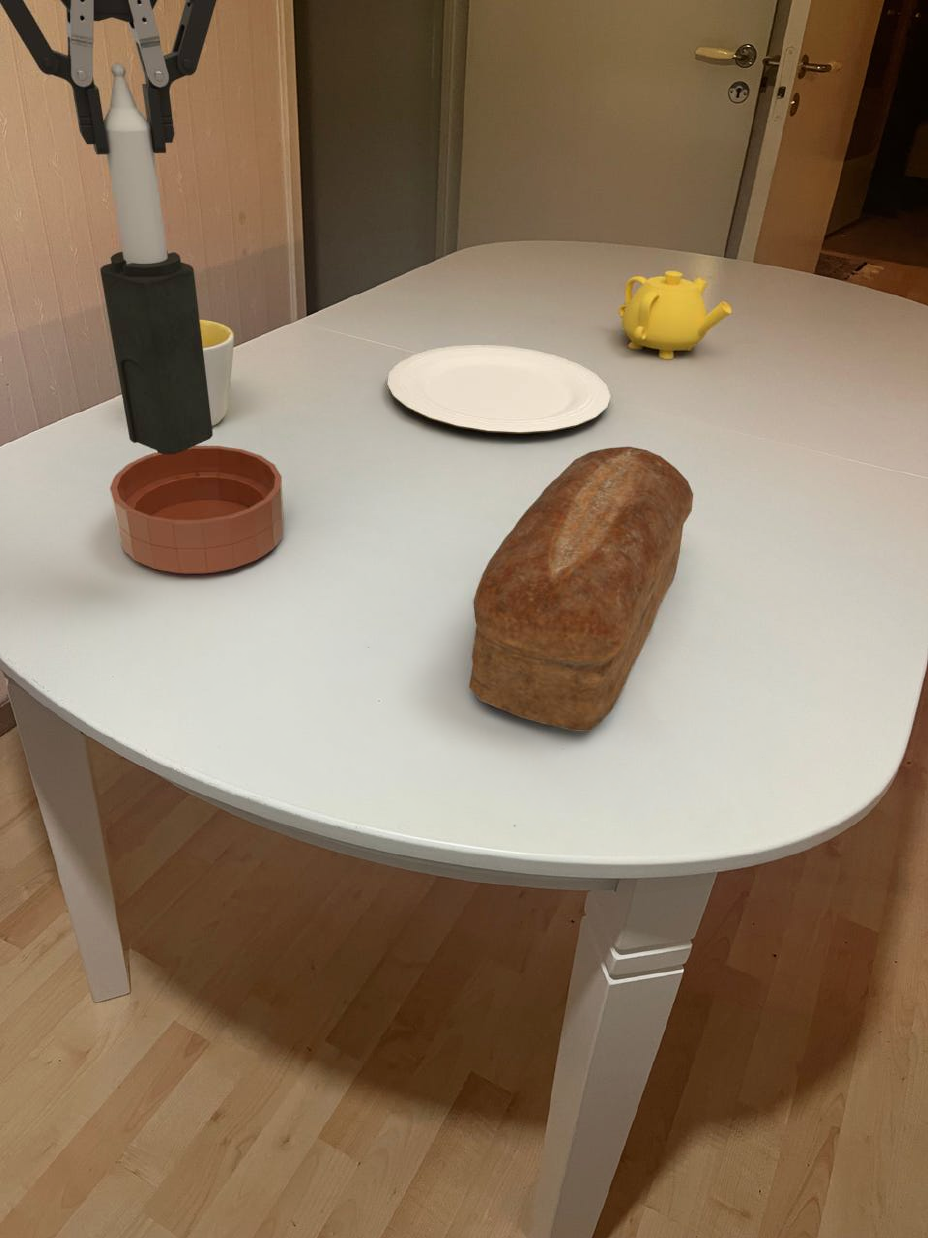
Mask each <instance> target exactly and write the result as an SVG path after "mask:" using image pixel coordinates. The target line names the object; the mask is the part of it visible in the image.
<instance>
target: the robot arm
mask: <svg viewBox="0 0 928 1238" xmlns="http://www.w3.org/2000/svg"><path fill="white" fill-rule="evenodd" d="M59 1H60V2H61V3H62V5H63V6H64V7H65V31H66V54H64V53H62V52H59V51H57V50H54V49H52V47H51V46H50V44H49V42H48V40H47V38H46V37H45V35H44V33H43V32H42V30H41V28H40V26H39V25H38V23H37V21H36V20H35V18H34V16H33V14H32V13H31V11H30V10H29V8H28V5H27V4H26V3H25V1H24V0H0V5H1V8H2V9H3V10H4V12H5V14H6V15H7V17H8V19H9V20H10V22H11V24H12V25H13V27H14V28H15V31H16V33H17V34H18V36H19V37H20V39H21V41H22V42H23V43H24V45H25V47H26V49H27V50H28V52H29V55H31V57H32V59H33V60H34V62H35V64H36V65H37V67H38V69H39V70H40V71H41V73H43V74H44V75H48V76H54V77H57V78H59V79H62V80H64V81H66V82H68V83H69V84H70V86H71V89H72V94H73V99H74V100H73V101H74V106H75V113H76V118H77V124H78V129H79V133H80V134H81V137H82V139H83V140H84V142H85V143H86V145H92V146H93V150H94V152H95V154H96V155H99V156H100V155H107V154H108V146H107V139H106V133H105V126H104V114H103V108H102V101H101V94H100V89H99V87H98V86H97V85H96V83H95V81H94V71H93V70H94V67H93V66H94V64H93V63H94V61H93V60H94V59H93V58H94V55H93V54H94V52H93V51H94V50H93V48H94V40H95V39H94V37H95V35H94V33H95V32H94V27H95V26H94V24H95V23H94V22H102V21H105V20H109V19H116V20H119V21H122V22H125V23H127V24H128V27H129V31H130V34H131V37H132V39H133V42H134V46H135V48H136V53H137V55H138V59H139V62H140V66H141V70H142V74H143V75H144V82H145V83H141V86H142V87H141V88H142V94H143V102H144V103H143V104H144V109H145V118H146V120H147V121H148V123H149V125H150V128H151V135H152V142H153V150H154V154H167V144H173V142H174V138H175V128H174V118H173V110H172V101H171V92H170V91H171V89H170V88H171V86H172V84H173V83H174V82H175V81H177V80H179V79H181V78H184V77H186V76H192V75H194V74H195V73H196V71H197V69H198V66H199V62H200V59H201V55H202V52H203V48H204V44H205V41H206V38H207V35H208V31H209V29H210V28H209V27H210V25H211V21H212V18H213V13H214V11H215V6H216V4H217V0H183V1H184V6H183V10H182V14H181V17H180V19H179V20H180V21H179V23H178V28H177V33H176V35H175V38H174V42H173V45H172V50H171V52H169V53H167V54H164V52H163V49H162V45H161V39H160V33H159V30H158V27H157V22H156V19H155V15H154V11H153V10H154V8H155V6H156V4H157V3H158V0H59Z"/></svg>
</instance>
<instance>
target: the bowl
mask: <svg viewBox="0 0 928 1238" xmlns="http://www.w3.org/2000/svg"><path fill="white" fill-rule="evenodd" d="M282 478H283V477H282V474H281V473H280V471H279V470H278V468H277V467H276V465H275V464H274V463H272V462H271V461H269V460H268V459H267V458H266V457H264V456H262V455H261V454H257V453H254V452H251V451H249V450H245V449H243V448H235V447H229V446H223V445H195V446H193V447H191V448H189V449H187V450H184V451H182V452H180V453H176V454H161V453H158V452H157V451H156V452H153V453H149V454H146V455H144V456H142V457H140V458H138V459H136V460H134V461H132V462H130V463H128V464H126V465H125V466H124V467H123V468H122V469H121V470H120V471H118V472H117V473H116V474H115V475H114V477H113V480H112V482H111V485H110V487H109V490H110V497H111V502H112V508H113V512H114V513H113V514H114V518H115V523H116V530H117V535H118V538H119V539H118V540H119V542H120V545H121V549H122V550H123V551H124V552H125V553H126V554H127V555H128V556H129V557H131V559H132V560H133V561H135V562H137V563H139V564H142V565H144V566H146V567H149V568H151V569H155V570H159V571H163V572H169V573H176V574H186V575H205V574H213V573H214V574H215V573H221V572H225V571H230V570H233V569H236V568H239V567H241V566H244V565H247V564H250V563H252V562H255V561H257V560H259V559H261V558H262V557H263V556H265V555H267V554H268V553H269V552H271V551H273V550H274V549H275V548H276V547H277V545H278V544H279V542H280V541H281V540H282V538H283V537H284V533H285V532H284V531H285V511H284V510H285V509H284V495H283V493H284V492H283V479H282Z"/></svg>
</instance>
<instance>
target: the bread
mask: <svg viewBox="0 0 928 1238" xmlns="http://www.w3.org/2000/svg"><path fill="white" fill-rule="evenodd" d="M693 501H694V493H693V490H692V488H691V485H690V483H689V480H687V479H686V478H685V477H684V475H683V474H682V473H681V472H680V471H679V470H678V468H676V467H675V466H674V465H672V464H671V463H670V462H669V461H668V460H666V459H665V458H664V457H662V455H659V454H656V453H654V452H652V451H650V450H648V449H643V448H639V447H633V446H618V447H607V448H602V449H597V450H593V451H589V452H587V453H585V454H583V455H581V456H580V457H577V458H575V459H574V460H573V461H572V462H571V463H570V464H569V465H568V466H567V467H566V468H565V469H564V470H563V471H562V472H561V473H560V475H558V476H557V477H556V478H554V479H553V480H552V481H551V482H550V483H549V484H548V485H547V486H546V487H545V489H544V490H543V491H542V493H540V495H539V496H538V497H537V498H536V500H535V501H534V502H532V504H531V505H530V506H529V507H528V508H527V509H526V510H525V512H524V513H523V514H522V515H521V517H520V518H519V520H518V521H517V522H516V523H515V525H514V527H513V528H512V529H511V530H510V531H509V533H508V534H507V535H506V536H505V537H504V539H503V541H502V542H501V543H500V545H499V546H498V548H497V550H496V551H495V552H494V554H493V555H492V557H491V558H490V560H489V561H488V562H487V565H486V567H485V569H484V570H483V573H482V575H481V578H480V580H479V583H478V585H477V588H476V590H475V594H474V598H473V601H472V602H473V603H472V604H473V614H474V616H473V617H474V621H475V625H476V626H475V630H474V631H475V632H474V638H473V645H472V651H471V661H472V666H471V672H470V677H469V684H468V688H469V689H470V690H471V691H472V692H473V694H474V695H475V696H476V697H477V698H478V699H479V701H481V702H483V703H485V704H487V705H491V706H493V707H495V708H497V709H500V710H502V711H506V712H508V713H510V714H513V715H515V716H517V717H520V718H523V719H525V720H530V721H532V722H533V721H534V722H537V723H540V724H544V725H547V726H551V727H555V728H560V729H565V730H570V731H578V732H589V731H591V730H593V729H594V728H595V727H597V725H599V724H600V723H602V722H603V721H604V719H605V718H606V717H607V716H608V715H609V714H610V713H611V711H612V710H613V708H614V707H615V705H616V703H617V702H618V700H619V699H620V696H621V694H622V692H623V690H624V688H625V685H626V683H627V681H628V678H629V676H630V673H631V671H632V669H633V667H634V665H635V663H636V661H637V659H638V657H639V655H640V653H641V651H642V649H643V647H644V645H645V642H646V640H647V638H648V636H649V634H650V633H651V631H652V628H653V625H654V622H655V619H656V617H657V614H658V612H659V609H660V606H661V605H662V602H663V600H664V598H665V596H666V594H667V592H668V590H669V589H670V587H671V585H672V583H673V582H674V579H675V576H676V572H677V568H678V562H679V557H680V553H681V547H682V546H681V545H682V539H683V537H682V536H683V530H684V525H685V523H686V521H687V519H688V518H689V516H690V515H691V513H692V511H693Z"/></svg>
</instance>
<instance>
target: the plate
mask: <svg viewBox="0 0 928 1238" xmlns="http://www.w3.org/2000/svg"><path fill="white" fill-rule="evenodd" d="M387 388H388V389H389V391H390V393H391V395H392V397H393V398H394V399H395V400H396V401H398V402H399V403H400V404H401V405H403V406H404V407H405V408H406V409H408V410H409V411H411V412H413V413H416V414H418V415H421V416H422V417H425V418H426V419H429V420H432V421H434V422H439V423H442V424H445V425H449V426H451V427H455V428H458V429H459V428H460V429H465V430H470V431H471V430H472V431H477V432H483V433H493V434H512V435H513V434H514V435H527V434H540V433H543V434H544V433H551V432H557V431H561V430H566V429H573V428H576V427H579V426H580V425H583V424H585V423H588V422H590V421H592V420H595V419H596V418H598V417H599V416H600V415H602V413H603V412H605V411H606V410H607V409H608V406H609V403H610V401H611V393H610V391H609V387H608V384H606V383H605V381H604V380H602V379H601V378H600V376H598V374H596V373H595V372H593V371H591V370H590V369H588V368H586V367H584V366H582V365H581V364H579V363H577V362H574V361H572V360H570V359H567V358H564V357H561V356H559V355H555V354H551V353H547V352H543V351H539V350H536V349H528V348H522V347H515V346H511V345H510V346H508V345H493V344H492V345H491V344H467V345H466V344H463V345H452V346H446V347H439V348H432V349H429V350H426V351H423V352H419V353H415V354H413V355H411V356H409V357H407V358H405V359H403V360H401V361H399V362H397V363H396V364H395V366H394V367H393V368H392V369H391V370H390V371H389V372H388V376H387Z"/></svg>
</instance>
